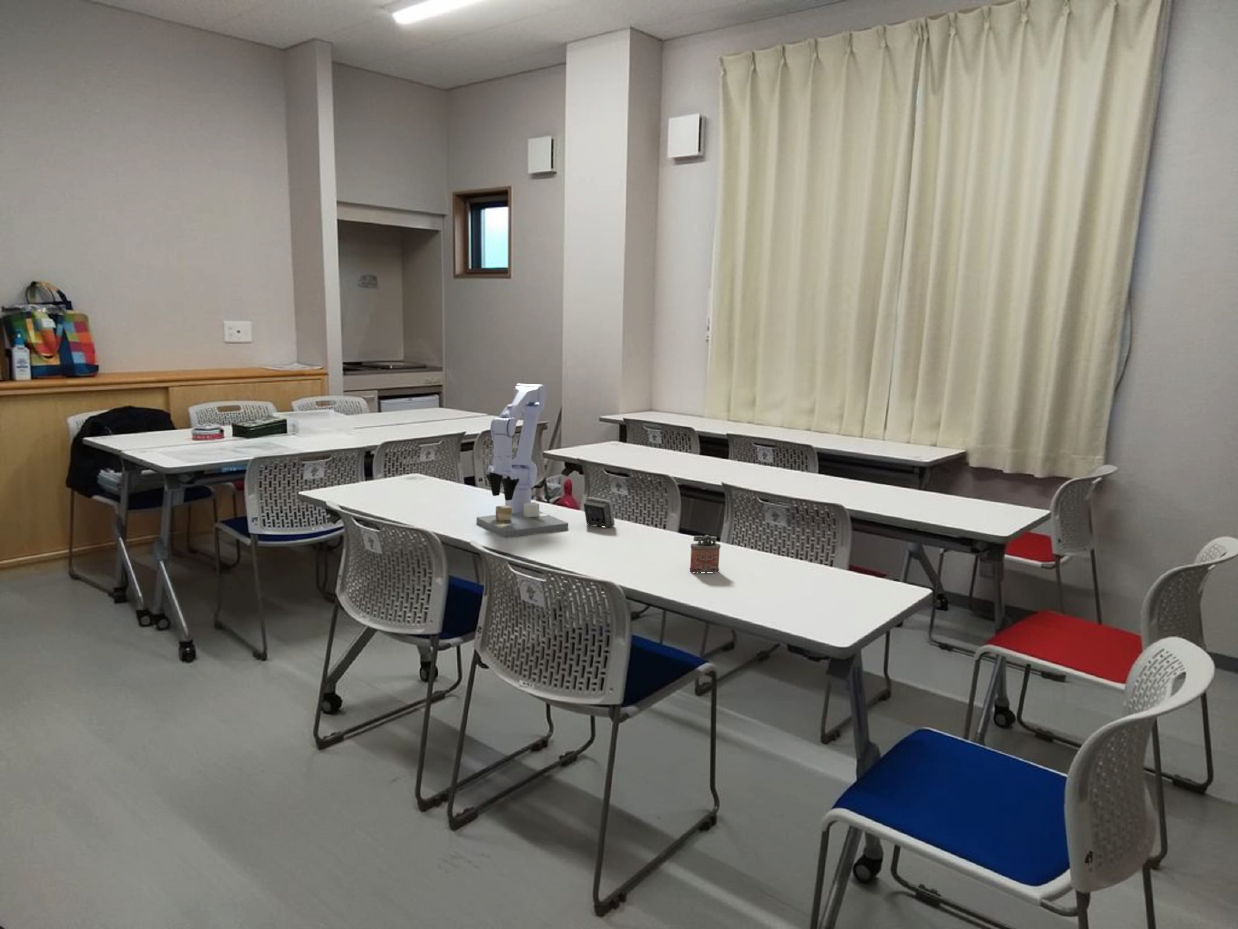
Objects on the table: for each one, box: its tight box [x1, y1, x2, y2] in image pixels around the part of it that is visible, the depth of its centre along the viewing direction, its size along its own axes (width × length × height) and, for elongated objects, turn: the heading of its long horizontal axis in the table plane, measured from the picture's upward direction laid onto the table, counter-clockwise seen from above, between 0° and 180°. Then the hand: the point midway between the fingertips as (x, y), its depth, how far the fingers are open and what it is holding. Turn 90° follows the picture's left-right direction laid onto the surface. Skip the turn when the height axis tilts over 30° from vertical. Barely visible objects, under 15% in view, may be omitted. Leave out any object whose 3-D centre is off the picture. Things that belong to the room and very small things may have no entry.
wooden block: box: [495, 504, 512, 521], centre depth 261 cm, size 3×4×4 cm
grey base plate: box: [476, 510, 569, 539], centre depth 262 cm, size 20×22×2 cm
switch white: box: [524, 501, 540, 517], centre depth 267 cm, size 3×4×4 cm
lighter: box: [689, 534, 721, 573], centre depth 221 cm, size 8×3×10 cm, turn 100°
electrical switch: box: [583, 496, 615, 529], centre depth 265 cm, size 9×5×9 cm, turn 57°
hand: (502, 497), depth 263 cm, fingers open, 7 cm apart
